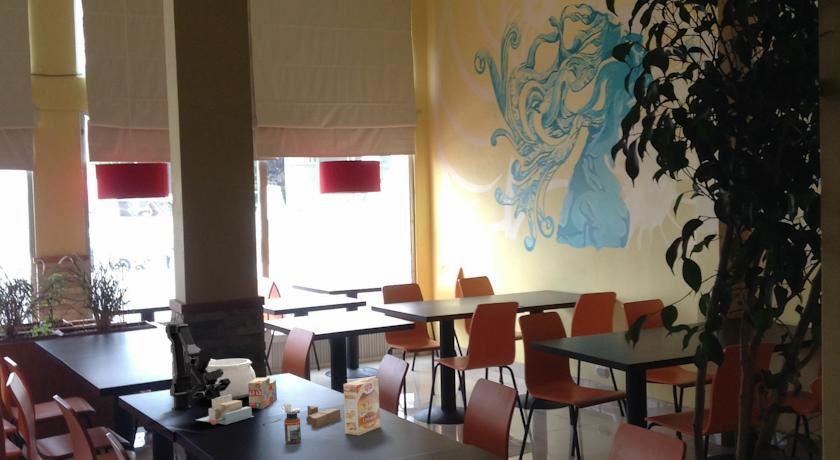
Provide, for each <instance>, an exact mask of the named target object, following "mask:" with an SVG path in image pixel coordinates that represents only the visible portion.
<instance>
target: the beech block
mask: <svg viewBox="0 0 840 460" xmlns="http://www.w3.org/2000/svg"><path fill="white" fill-rule="evenodd" d="M219 408H220V418H222V413H225V412H229V411H232V410H236V409H240V408H243V400H238V399H233V400H232V401H230V402H226V403H222V404H219Z"/></svg>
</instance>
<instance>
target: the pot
mask: <svg viewBox="0 0 840 460" xmlns="http://www.w3.org/2000/svg"><path fill="white" fill-rule="evenodd" d="M251 364H253V361H251V360H250V359H249V358H224V359H223V358H222V359H213V358H211V360H210V362H209V365H208V367H207V368H206V369H207V371H208V372H212V371H215V370H217V369H219V368H221V369H222V370H223V373H224V374H223V375H222V377H220V378H218V379H217V380H218V381H217V382H215V383H216V384H217V383H219V381H220V380H221V379H225V378H228V379H229V380H230V382H231V383H230V384H229V386H228V387H227V388H226V390H224V391H221V392H220V396H225V395H229V394H230V395H232V400H238V399H242V398H243V399H244V398H247V397H249V388H248V383H249V382H251V381H253V380H254V379H256V378H257V376H256V373H255V370H254V369H253V367H252V366H251ZM202 393H203V395H204V392H202ZM205 398H207V397H205ZM207 399H208V400H210V399H209V398H207Z"/></svg>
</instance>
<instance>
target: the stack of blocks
mask: <svg viewBox="0 0 840 460" xmlns="http://www.w3.org/2000/svg"><path fill="white" fill-rule="evenodd" d="M248 388H249V396H248V405H249V406H248V407H251V409H252V408H254V409H259V410H264V409H265V408H266V407H268V406H269V405H271V404H272V403H273V402H275V401H276V400H277V399H278V395H277V393H278V392H277V380H276V379H271V380H270V377H269V376H268V377H267V376H266V377H256V379H254V380H253V381H251V382H249V383H248Z"/></svg>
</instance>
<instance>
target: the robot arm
mask: <svg viewBox="0 0 840 460" xmlns="http://www.w3.org/2000/svg"><path fill="white" fill-rule="evenodd" d="M164 330H165V333H166V335H167V336H166V337H167V339H168V340H169V341H170V342H171V347H172V348H171V349H172V357H173V365H174V376H173V378H172V380H171V381H172V384H171V386H170V389H169V395H170V396H171V397H172V398H173V405H174V406H173V407H171V410H178V411H182V410H186V409H191V408H192V406H191V405H190V404H189V403H190V401H189V395H190V397H191V398H192V399H195V398H198V397H199V393H203V392H204V394H203V398H206V397H207V399H208V398H209V399H208V400H211V401H212V399H214V398H217V397H221V396H220V392H221V391H224V390H226V388H227V387H228V386H229V384H230V383H231V382H230V380H229V379H228V378H225V379H221V380H220V381H219V383H217V384H216V383H215V382H217V381H218V380H217V379H218V378H220V377H222V375H223V374H224V373H223V370H222V369H221V368H219V369H217V370H215V371H212V372H208V371H207V369H206V368H207V367H208V365H209V362H210V360H211V359H212V355H211V354H210V353H209V352H208V351H206V350H205V349H201V348H200V347H198V346H197V345H196V343H195V342H194V339H193V337H192V334H191V333H190V330H189V325H188V324H187V323H183V322H182V321H178V322H171V323H170V322H169V323H168V324H167V325H166V326H165V329H164ZM184 350H185V351H184ZM184 352H185V353H184ZM186 365H188V366H191V365H192V366H191V368H190V375H194V377H195V379H196V385H194V386H193V382H192V381H191V376H190V375H189V374H188V373H187V372H186V371H187V370H186Z"/></svg>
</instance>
